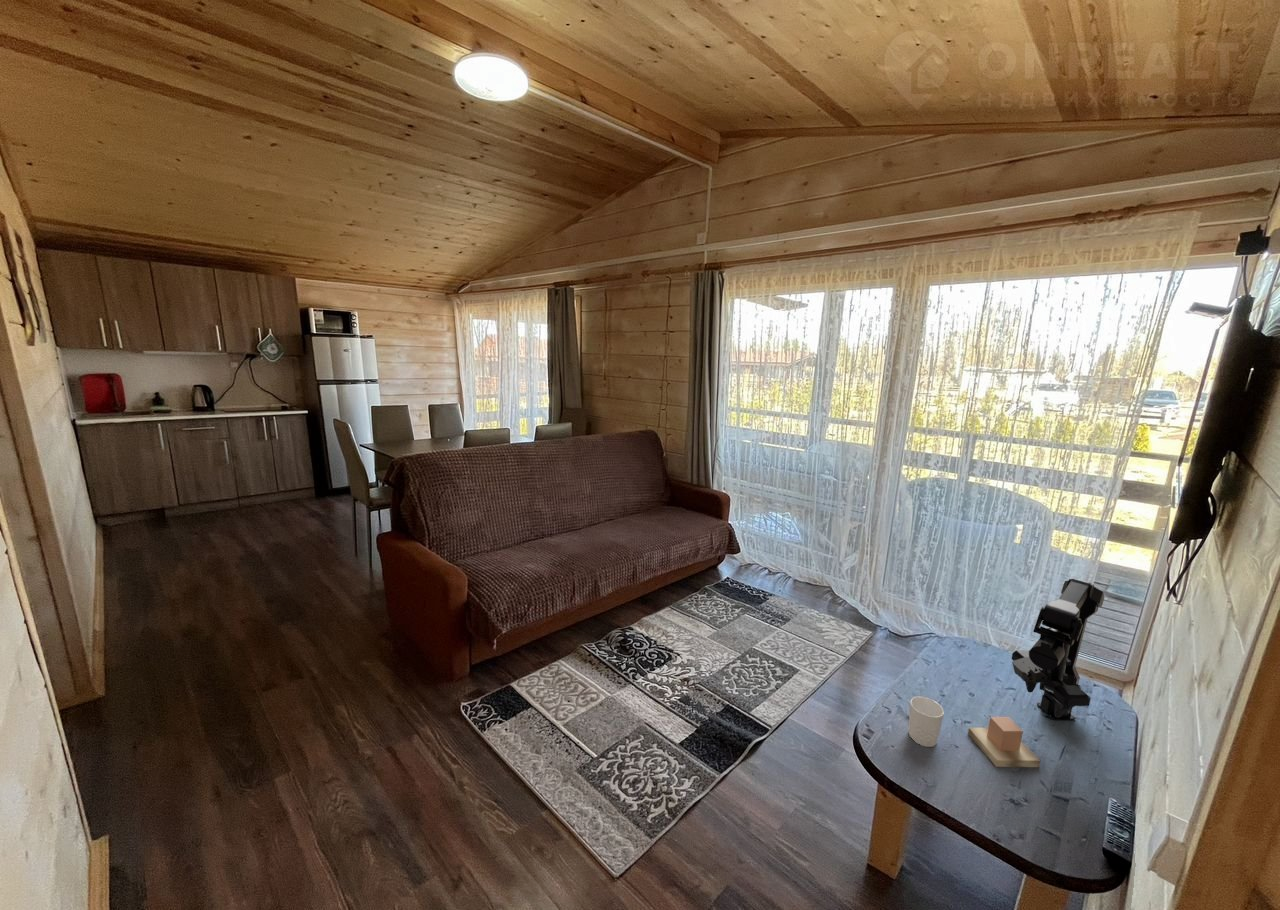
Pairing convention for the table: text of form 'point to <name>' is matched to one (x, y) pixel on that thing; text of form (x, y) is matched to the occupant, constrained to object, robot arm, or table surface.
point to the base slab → (1003, 757)
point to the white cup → (925, 721)
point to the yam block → (1004, 734)
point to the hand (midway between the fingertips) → (1043, 704)
